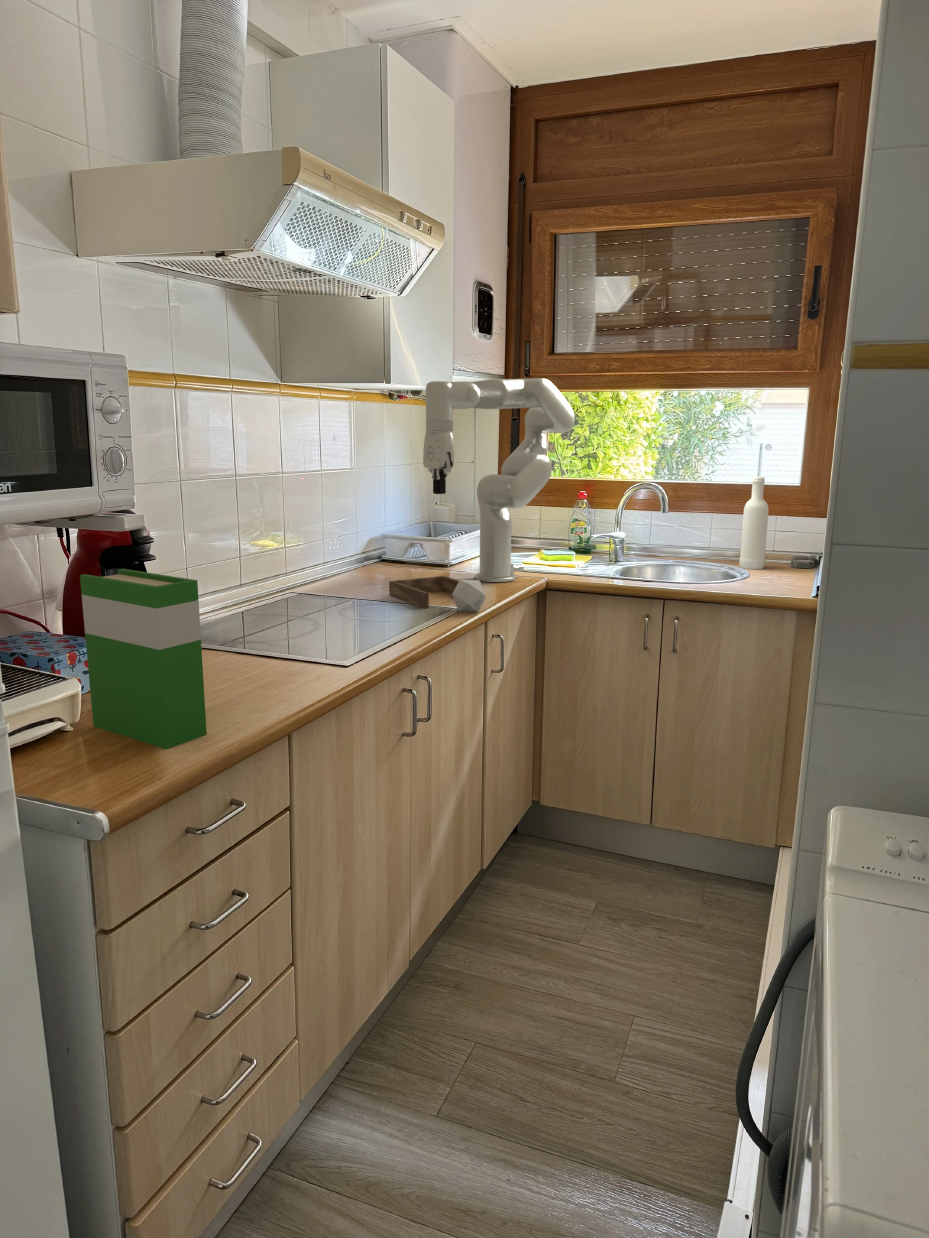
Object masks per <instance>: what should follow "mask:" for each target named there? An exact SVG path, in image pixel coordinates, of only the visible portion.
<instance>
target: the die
mask: <svg viewBox="0 0 929 1238" xmlns="http://www.w3.org/2000/svg"><path fill="white" fill-rule="evenodd" d="M459 580H460V581H459V582H458V584H457V586H456V588H455V590H454V592H453V593H452V594H451V595H452V597H453V601H454V603H455V606H456V608H457V612H458V613H479V612H480V610H481V607H482V606H483V604H484V602H485V600H486V594H485V592H484V589H483V586H482V583H481V581H480V580H476V579H474V580H472V579H463V580H462V579H459Z"/></svg>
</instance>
